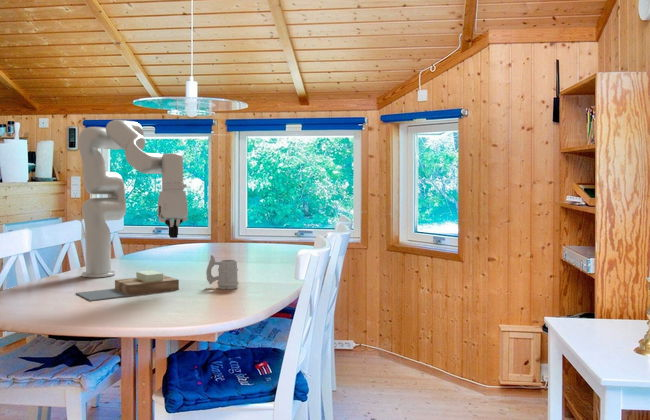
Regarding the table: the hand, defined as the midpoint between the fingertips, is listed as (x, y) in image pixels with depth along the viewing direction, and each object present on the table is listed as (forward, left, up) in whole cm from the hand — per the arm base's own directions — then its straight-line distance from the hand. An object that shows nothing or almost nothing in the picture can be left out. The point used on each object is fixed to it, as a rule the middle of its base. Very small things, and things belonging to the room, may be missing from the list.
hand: (173, 237), depth 206 cm
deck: (0, -10, -18) cm, 21 cm away
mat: (0, -25, -18) cm, 31 cm away
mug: (+13, +13, -18) cm, 26 cm away
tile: (0, -9, -13) cm, 16 cm away
